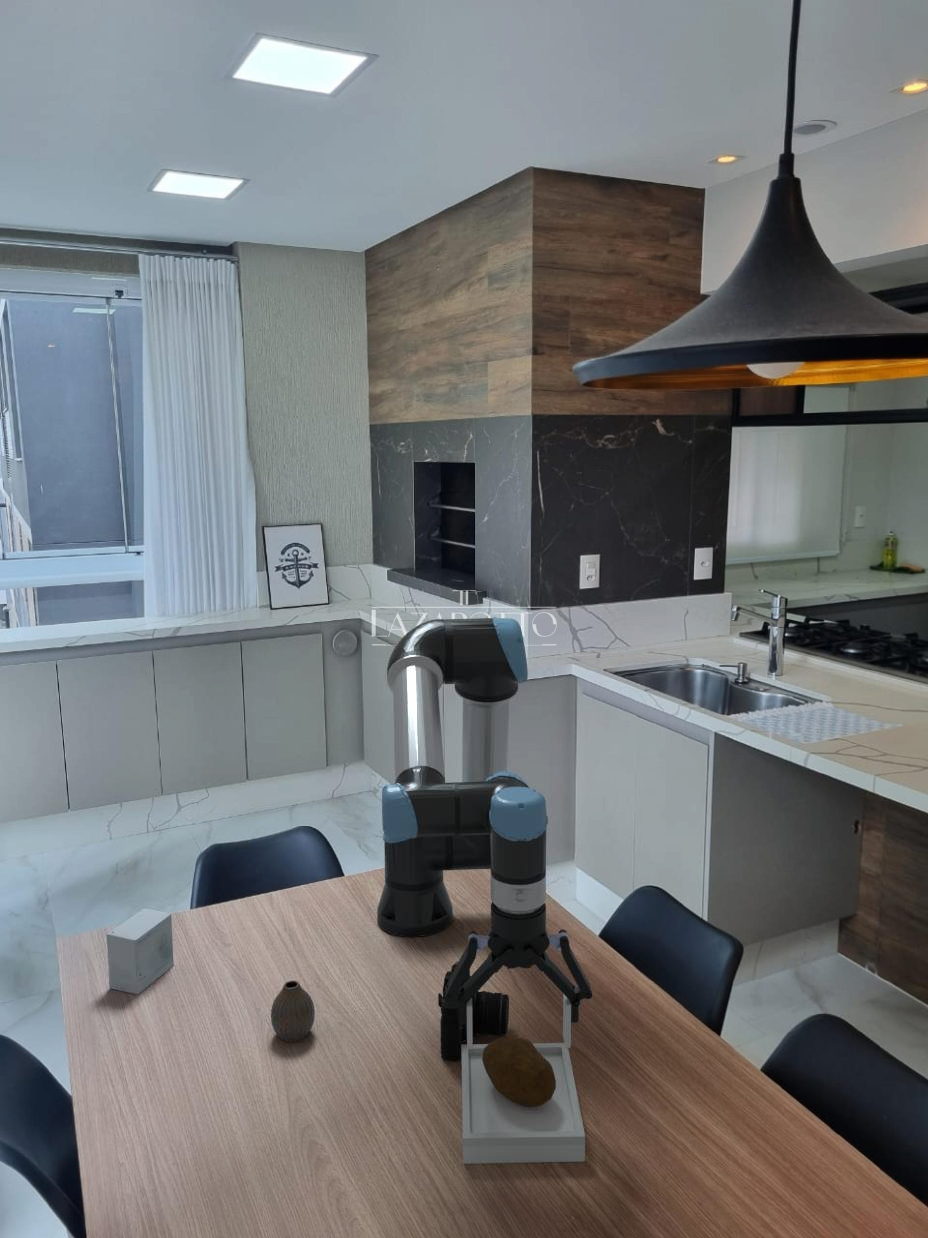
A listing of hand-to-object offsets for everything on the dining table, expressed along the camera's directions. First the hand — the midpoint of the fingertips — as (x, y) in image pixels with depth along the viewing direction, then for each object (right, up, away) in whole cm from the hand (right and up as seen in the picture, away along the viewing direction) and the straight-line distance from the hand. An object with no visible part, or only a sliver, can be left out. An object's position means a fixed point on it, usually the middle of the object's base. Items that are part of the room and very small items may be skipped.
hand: (518, 1042), depth 133 cm
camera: (-6, -8, +19) cm, 21 cm away
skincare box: (-65, -5, +37) cm, 75 cm away
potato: (0, -8, +1) cm, 8 cm away
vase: (-35, -8, +20) cm, 41 cm away
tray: (0, -10, +1) cm, 10 cm away
